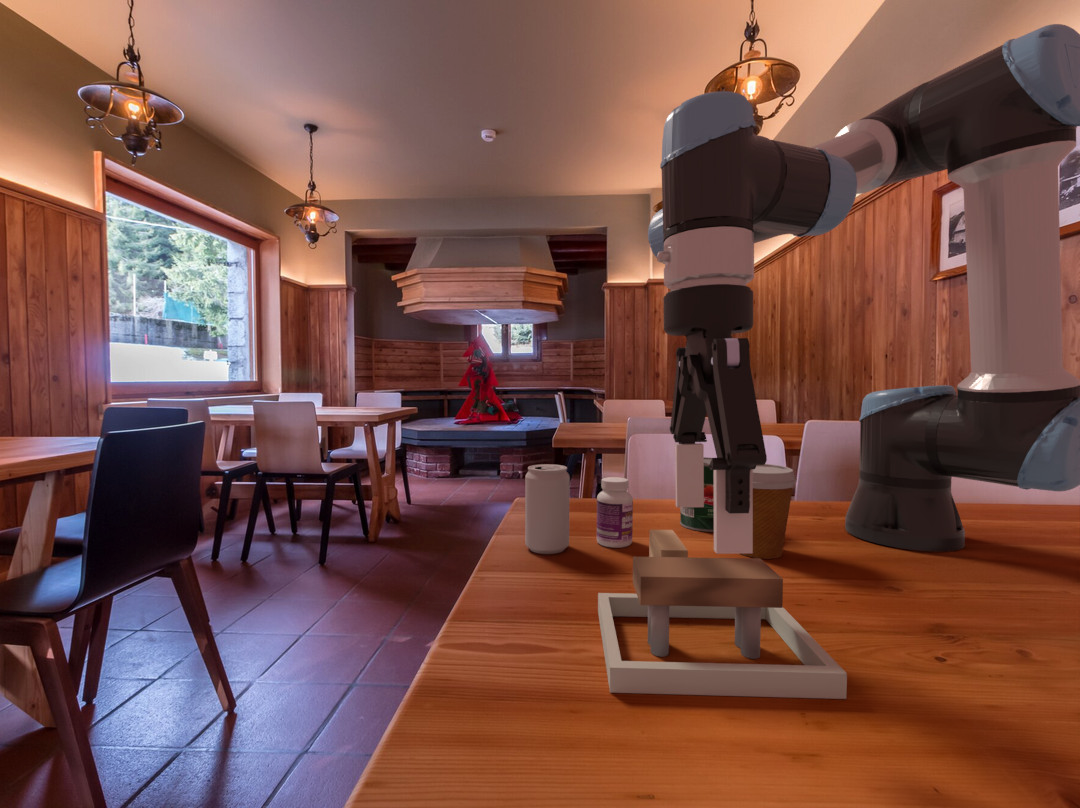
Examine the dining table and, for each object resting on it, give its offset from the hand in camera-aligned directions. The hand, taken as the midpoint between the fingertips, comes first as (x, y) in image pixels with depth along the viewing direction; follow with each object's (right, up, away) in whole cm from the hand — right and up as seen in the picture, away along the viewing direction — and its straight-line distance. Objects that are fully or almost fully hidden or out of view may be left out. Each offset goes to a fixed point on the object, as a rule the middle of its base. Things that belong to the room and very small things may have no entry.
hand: (708, 526), depth 46 cm
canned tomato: (+12, -10, +40) cm, 43 cm away
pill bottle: (-4, -10, +31) cm, 32 cm away
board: (0, -6, 0) cm, 6 cm away
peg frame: (0, -11, 0) cm, 11 cm away
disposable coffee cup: (+16, -10, +27) cm, 33 cm away
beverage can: (-14, -10, +28) cm, 33 cm away
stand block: (0, -10, +16) cm, 19 cm away
